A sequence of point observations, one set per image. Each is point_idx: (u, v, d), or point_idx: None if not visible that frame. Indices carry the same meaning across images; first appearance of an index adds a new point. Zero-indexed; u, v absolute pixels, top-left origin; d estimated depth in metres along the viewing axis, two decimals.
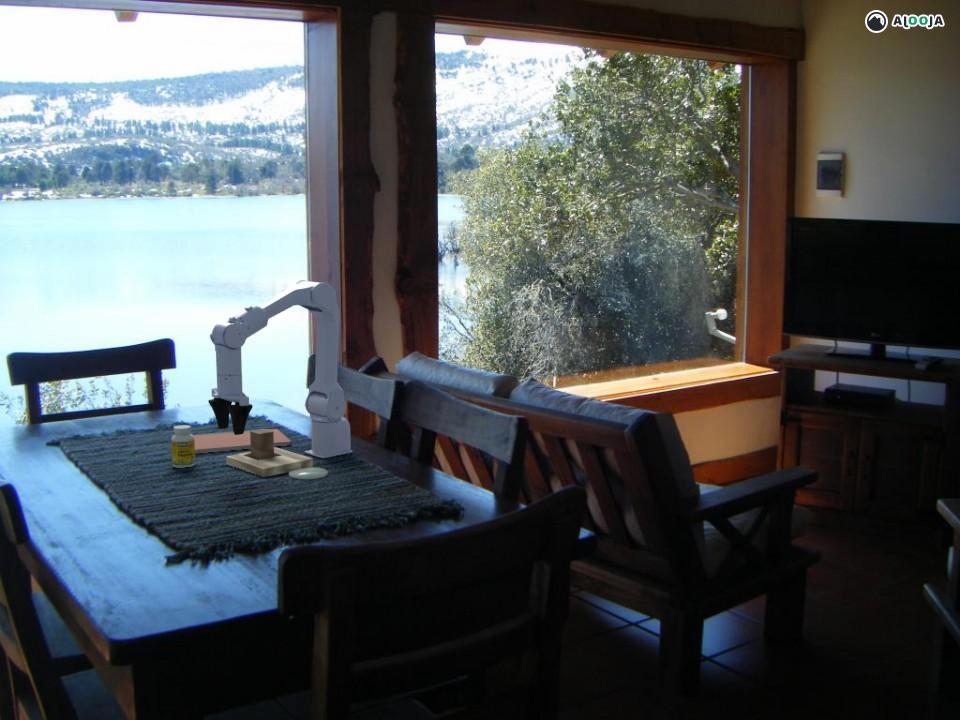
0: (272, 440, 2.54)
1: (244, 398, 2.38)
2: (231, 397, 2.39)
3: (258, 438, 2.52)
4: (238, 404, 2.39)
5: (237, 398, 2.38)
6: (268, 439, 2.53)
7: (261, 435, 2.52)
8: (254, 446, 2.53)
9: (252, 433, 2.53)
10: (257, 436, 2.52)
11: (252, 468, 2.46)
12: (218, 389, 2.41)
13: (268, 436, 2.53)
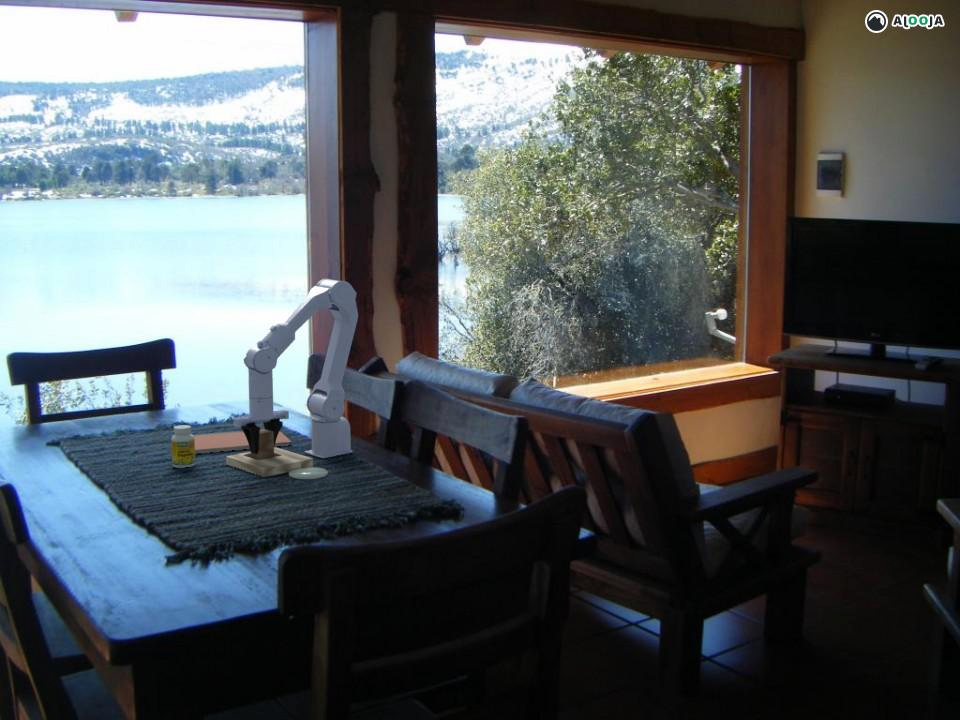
0: (272, 440, 2.54)
1: (235, 419, 2.49)
2: None
3: None
4: None
5: None
6: (268, 439, 2.53)
7: (261, 435, 2.52)
8: None
9: None
10: None
11: (252, 468, 2.46)
12: None
13: (268, 436, 2.53)
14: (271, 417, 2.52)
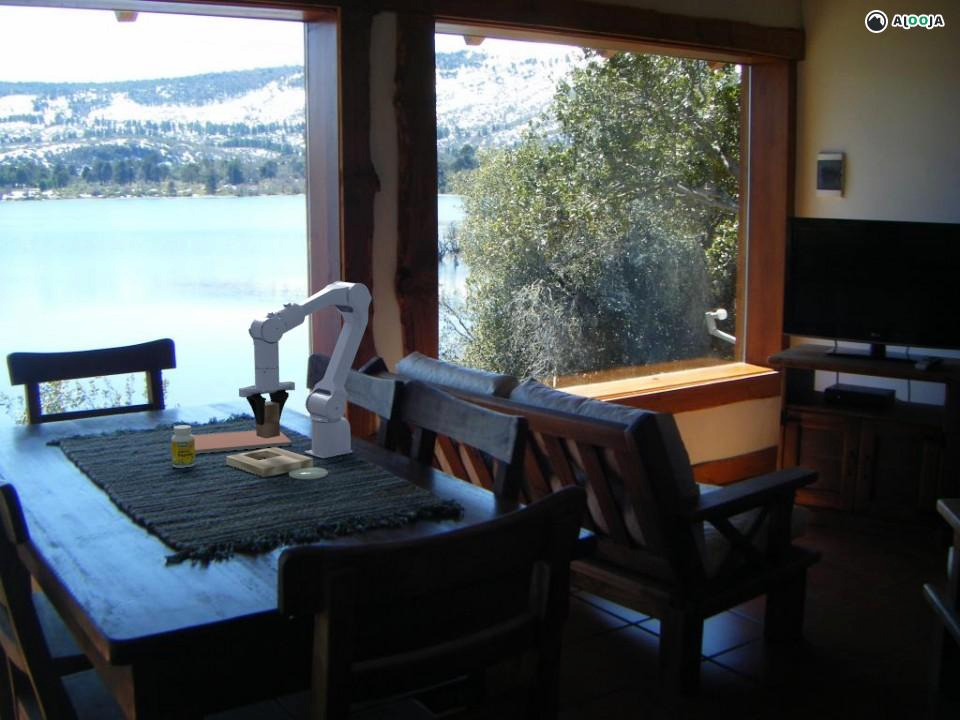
0: (278, 412, 2.52)
1: (240, 389, 2.46)
2: None
3: None
4: None
5: None
6: (274, 411, 2.51)
7: (266, 407, 2.49)
8: None
9: None
10: None
11: (252, 468, 2.46)
12: None
13: (274, 408, 2.51)
14: (277, 388, 2.50)
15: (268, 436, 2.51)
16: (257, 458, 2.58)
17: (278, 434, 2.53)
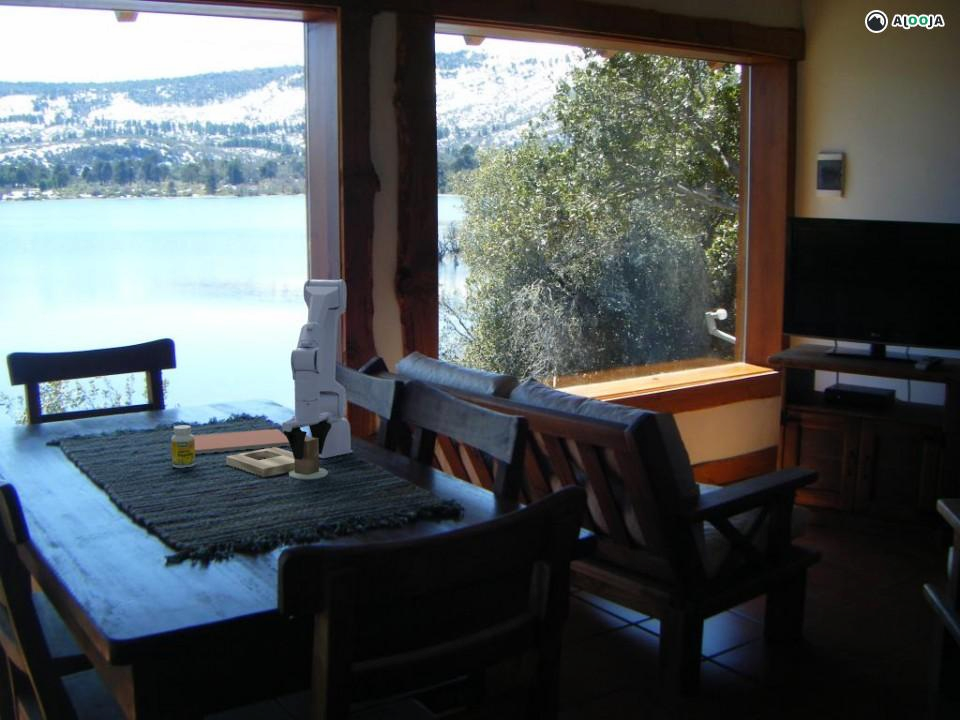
0: (317, 447, 2.45)
1: (284, 423, 2.38)
2: None
3: (305, 445, 2.42)
4: None
5: None
6: (314, 447, 2.44)
7: (308, 443, 2.42)
8: None
9: None
10: None
11: (252, 468, 2.46)
12: None
13: (314, 444, 2.44)
14: (319, 420, 2.43)
15: (309, 472, 2.44)
16: (257, 458, 2.58)
17: (317, 470, 2.46)
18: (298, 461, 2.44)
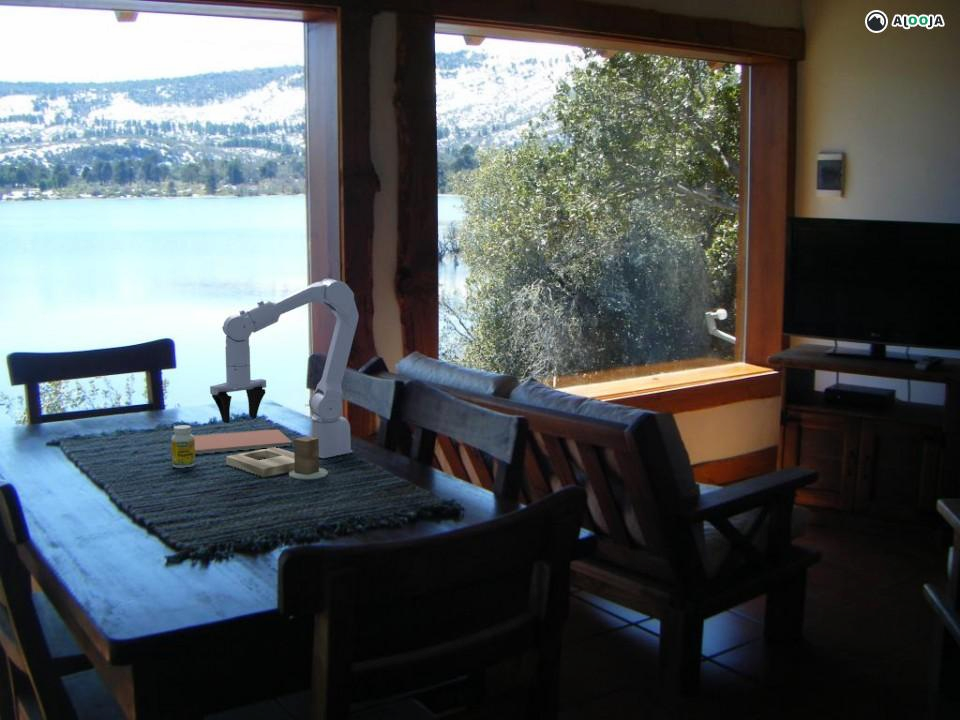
0: (317, 447, 2.45)
1: (211, 387, 2.49)
2: None
3: (305, 445, 2.42)
4: None
5: None
6: (314, 447, 2.44)
7: (308, 443, 2.42)
8: (299, 454, 2.44)
9: (297, 441, 2.44)
10: (303, 443, 2.42)
11: (252, 468, 2.46)
12: None
13: (314, 444, 2.44)
14: (248, 385, 2.52)
15: (309, 472, 2.44)
16: (257, 458, 2.58)
17: (317, 470, 2.46)
18: (298, 461, 2.44)
